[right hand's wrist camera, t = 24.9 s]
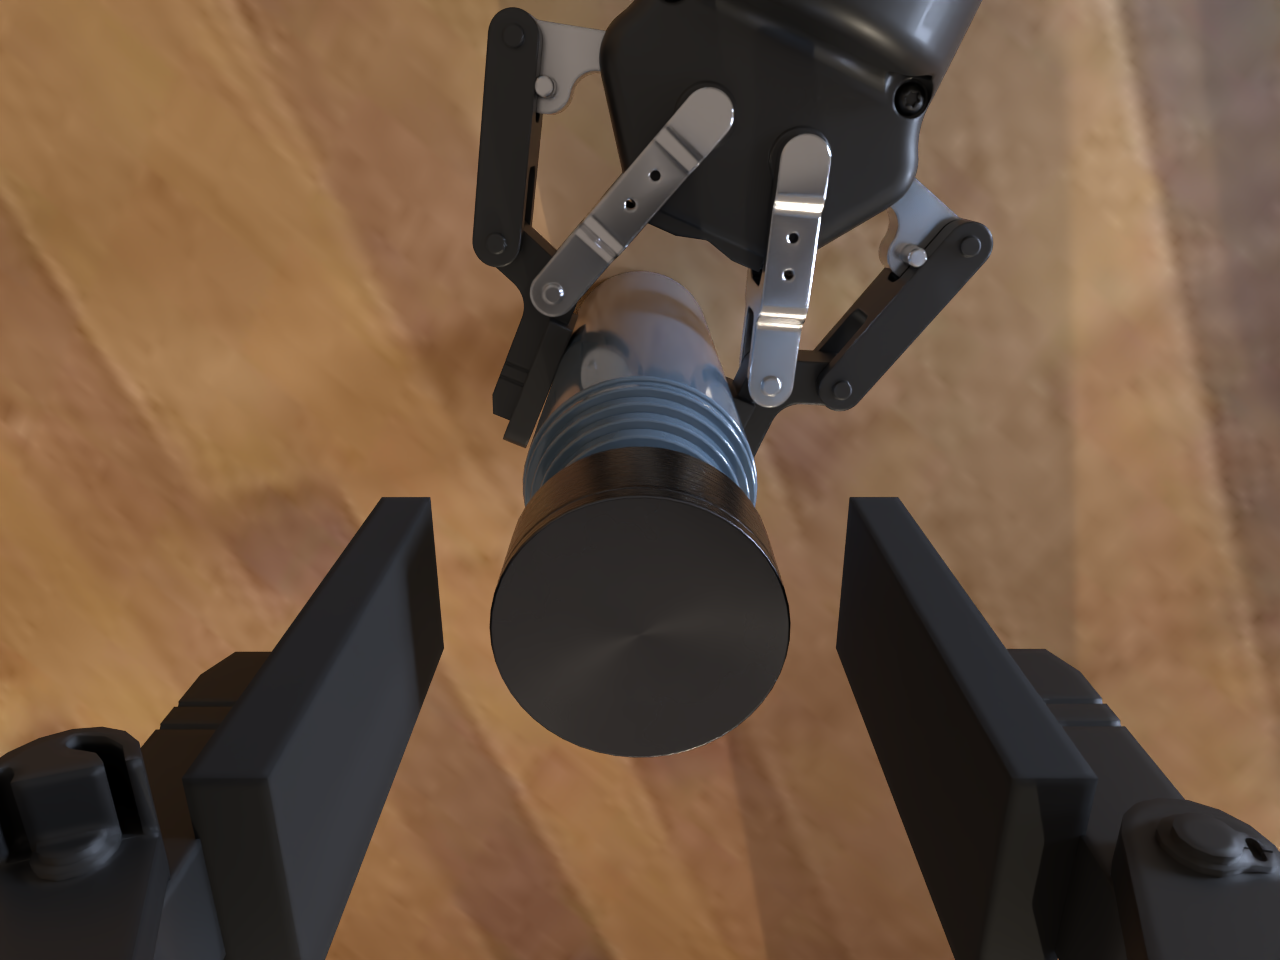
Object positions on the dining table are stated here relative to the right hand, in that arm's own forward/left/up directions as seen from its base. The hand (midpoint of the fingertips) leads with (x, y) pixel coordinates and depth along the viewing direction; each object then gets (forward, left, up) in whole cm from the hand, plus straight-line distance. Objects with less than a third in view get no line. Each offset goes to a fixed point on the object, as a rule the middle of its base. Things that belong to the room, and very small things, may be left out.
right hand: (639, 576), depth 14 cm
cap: (0, 0, +2) cm, 2 cm away
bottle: (0, 0, -18) cm, 18 cm away
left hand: (+1, +2, -12) cm, 12 cm away
